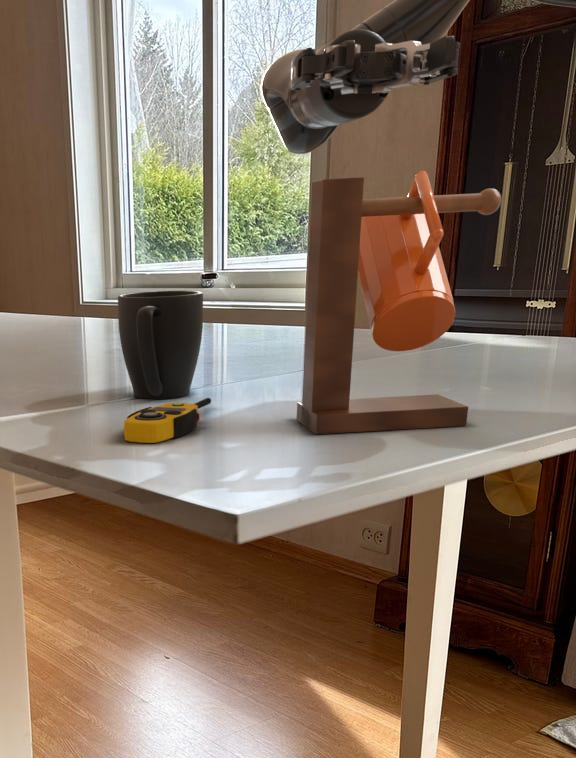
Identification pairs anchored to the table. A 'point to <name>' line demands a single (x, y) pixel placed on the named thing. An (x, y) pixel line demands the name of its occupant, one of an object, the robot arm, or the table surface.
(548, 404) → the table surface
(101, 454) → the table surface
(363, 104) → the robot arm
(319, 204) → the stand
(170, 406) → the yellow walkie talkie
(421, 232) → the cup
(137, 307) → the mug
